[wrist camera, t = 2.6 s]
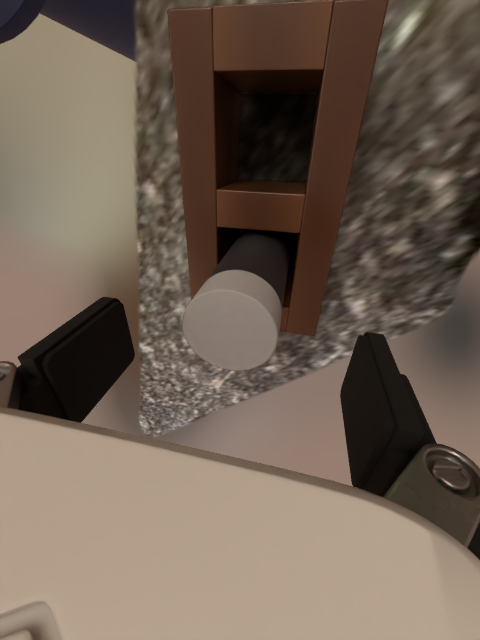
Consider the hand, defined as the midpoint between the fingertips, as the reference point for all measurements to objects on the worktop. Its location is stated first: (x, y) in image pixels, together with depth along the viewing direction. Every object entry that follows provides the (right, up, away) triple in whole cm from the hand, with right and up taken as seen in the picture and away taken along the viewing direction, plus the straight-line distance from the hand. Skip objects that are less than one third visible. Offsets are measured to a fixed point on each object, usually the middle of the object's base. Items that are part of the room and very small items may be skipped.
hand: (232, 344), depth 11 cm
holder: (+3, +10, +9) cm, 14 cm away
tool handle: (+2, +7, +11) cm, 13 cm away
